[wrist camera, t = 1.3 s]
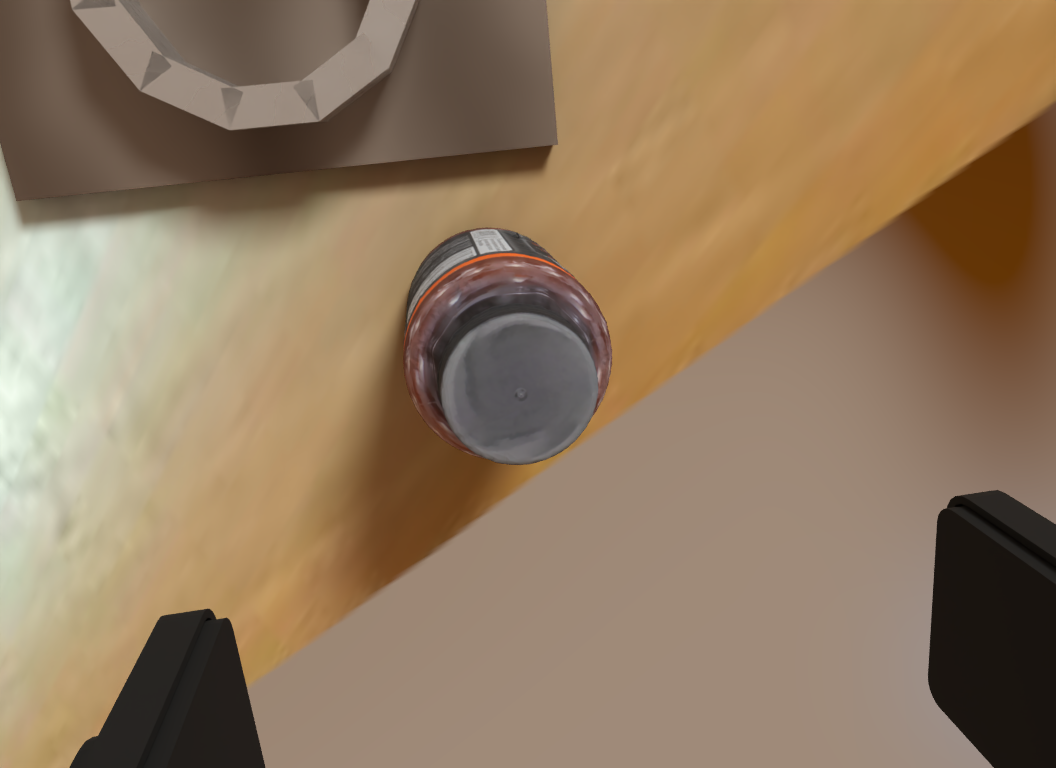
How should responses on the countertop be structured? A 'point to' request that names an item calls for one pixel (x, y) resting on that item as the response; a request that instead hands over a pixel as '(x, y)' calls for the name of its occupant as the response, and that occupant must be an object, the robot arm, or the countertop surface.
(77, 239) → the countertop surface
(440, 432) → the supplement bottle
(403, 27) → the steel collar
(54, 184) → the holder board
